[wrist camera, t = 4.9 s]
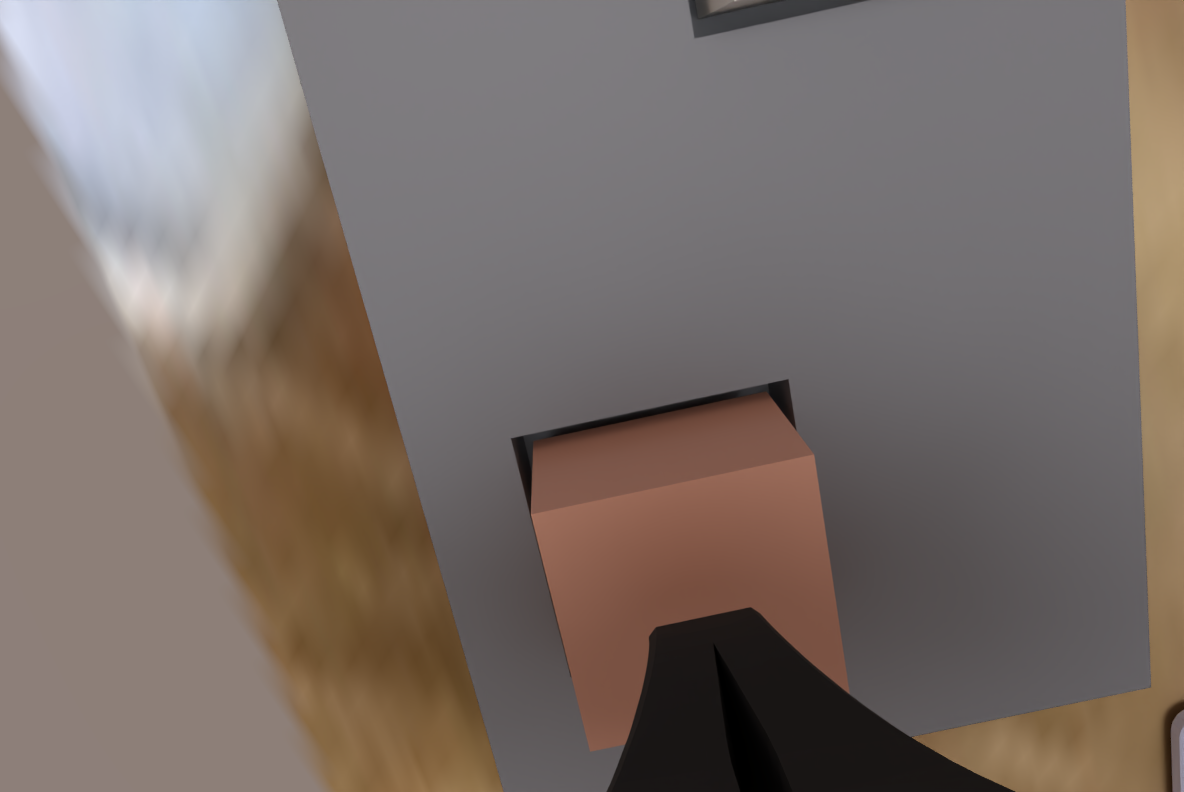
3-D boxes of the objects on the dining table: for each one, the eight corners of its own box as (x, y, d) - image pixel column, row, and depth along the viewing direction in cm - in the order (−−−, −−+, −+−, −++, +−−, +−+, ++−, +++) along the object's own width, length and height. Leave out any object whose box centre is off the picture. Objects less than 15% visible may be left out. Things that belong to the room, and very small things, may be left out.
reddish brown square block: (766, 391, 16) (813, 454, 13) (799, 598, 17) (850, 697, 14) (533, 441, 16) (531, 514, 13) (582, 644, 17) (590, 751, 15)
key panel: (990, -544, 15) (1099, -701, 12) (1066, 605, 21) (1151, 687, 18) (218, -367, 15) (140, -479, 12) (516, 719, 21) (512, 819, 18)
